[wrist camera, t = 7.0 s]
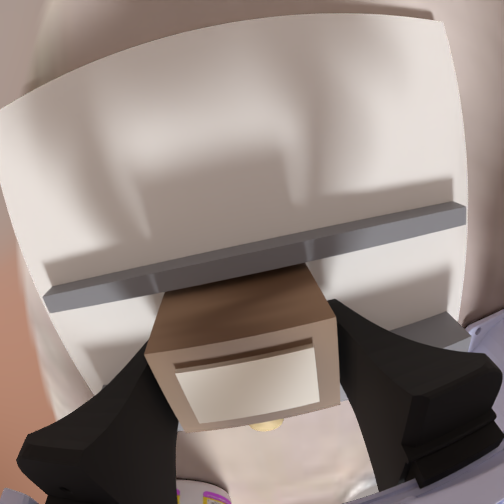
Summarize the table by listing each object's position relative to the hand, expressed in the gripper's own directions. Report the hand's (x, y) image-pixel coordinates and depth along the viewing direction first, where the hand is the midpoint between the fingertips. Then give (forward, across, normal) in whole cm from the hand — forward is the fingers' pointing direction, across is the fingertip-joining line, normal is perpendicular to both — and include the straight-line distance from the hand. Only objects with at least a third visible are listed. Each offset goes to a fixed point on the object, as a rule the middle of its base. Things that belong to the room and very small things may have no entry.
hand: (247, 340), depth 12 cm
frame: (+1, 0, 0) cm, 1 cm away
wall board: (+2, -1, -3) cm, 4 cm away
